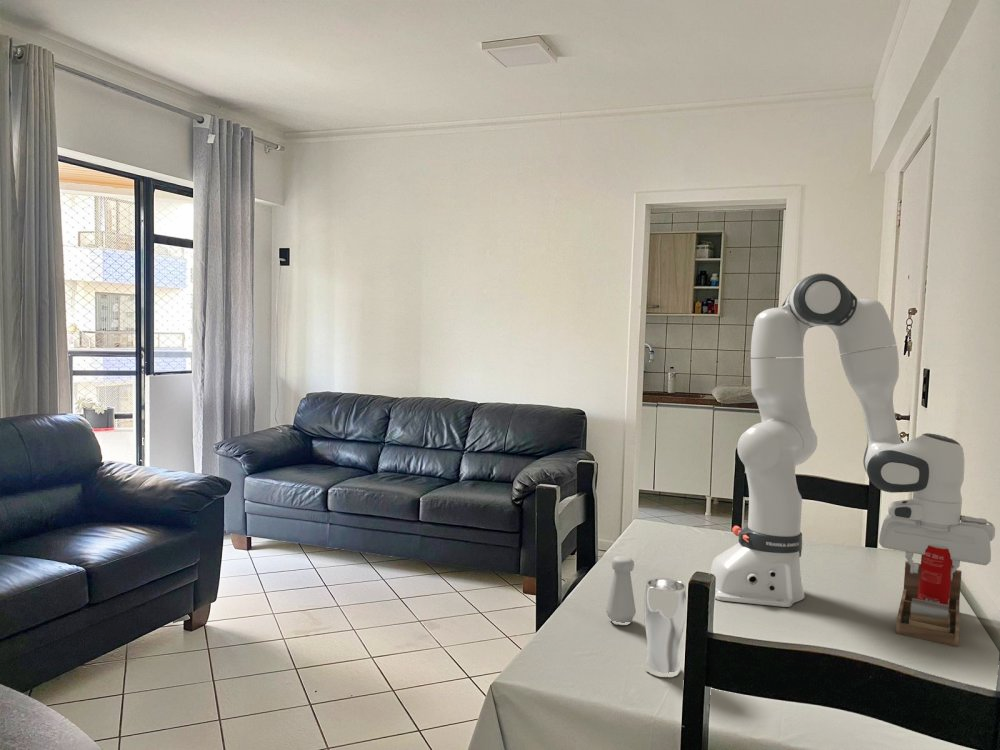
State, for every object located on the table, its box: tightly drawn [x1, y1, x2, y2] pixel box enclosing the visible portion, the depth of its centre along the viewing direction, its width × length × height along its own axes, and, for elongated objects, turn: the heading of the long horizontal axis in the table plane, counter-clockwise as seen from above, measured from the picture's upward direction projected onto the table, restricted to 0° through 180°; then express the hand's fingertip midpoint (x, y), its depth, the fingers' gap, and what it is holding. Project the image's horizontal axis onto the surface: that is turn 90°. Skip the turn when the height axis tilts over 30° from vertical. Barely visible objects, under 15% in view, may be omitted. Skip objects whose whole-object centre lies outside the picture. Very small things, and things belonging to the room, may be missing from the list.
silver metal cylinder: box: [908, 598, 951, 633], centre depth 146 cm, size 5×7×5 cm
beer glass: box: [643, 577, 687, 673], centre depth 123 cm, size 7×7×15 cm
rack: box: [895, 560, 962, 647], centre depth 148 cm, size 21×10×9 cm, turn 147°
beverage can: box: [918, 545, 953, 605], centre depth 152 cm, size 6×6×15 cm
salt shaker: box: [605, 555, 637, 623], centre depth 143 cm, size 6×6×13 cm
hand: (930, 576), depth 153 cm, fingers open, 5 cm apart
